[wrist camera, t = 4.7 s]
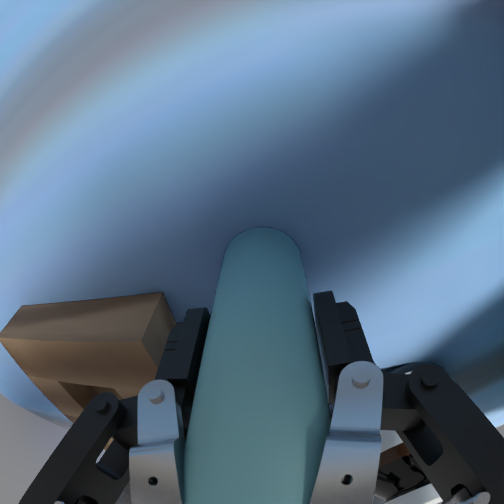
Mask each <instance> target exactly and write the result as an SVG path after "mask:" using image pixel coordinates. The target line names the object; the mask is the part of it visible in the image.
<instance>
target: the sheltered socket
mask: <svg viewBox="0 0 504 504" xmlns="http://www.w3.org/2000/svg"><path fill="white" fill-rule="evenodd" d="M176 324H177V323H176V321H175V319H174V317H173V315H172V312H171V310H170V308H169V306H168V304H167V301H166V299H165V297H164V294H163V292H159V293H150V294H141V295H132V296H123V297H113V298H103V299H93V300H83V301H72V302H61V303H49V304H37V305H24V306H21V307H20V309H19V310H18V311H17V312H16V314H15V315H14V316H13V317H12V319H11V320H10V321H9V322H8V324H7V325H6V326H5V327H4V329H3V330H2V331H1V333H0V342H1V343H2V345H3V346H4V347H5V349H6V350H7V351H8V353H9V354H10V355H11V357H12V358H13V359H14V360H15V362H16V363H17V364H18V365H19V367H20V368H21V369H22V370H23V371H24V373H25V374H26V375H27V376H28V377H29V378H30V380H31V381H32V382H33V383H34V384H35V385H36V386H37V387H38V388H39V390H40V391H41V392H42V393H43V394H44V395H45V396H46V397H47V398H48V399H49V400H50V401H51V402H52V403H53V404H54V405H55V406H56V407H57V408H58V409H59V410H60V411H61V412H62V413H63V414H64V415H65V416H66V417H67V418H68V419H69V420H70V421H71V422H73V423H75V421H76V420H77V418H78V417H79V416H80V414H81V413H82V412H83V410H84V409H85V408H86V406H87V405H88V404H89V402H90V401H91V400H92V399H93V398H94V397H95V396H96V395H98V394H100V393H103V392H110V393H113V394H114V395H115V396H116V397H117V398H118V399H119V400H121V399H125V398H129V397H134V396H137V395H138V394H139V392H140V390H141V389H142V387H143V386H145V385H146V384H147V383H149V382H151V381H154V379H155V376H156V373H157V370H158V367H159V364H160V360H161V357H162V354H163V351H164V348H165V345H166V343H167V339H168V336H169V333H170V331H171V330H172V329H173V328H174V326H175V325H176ZM112 441H113V439H112V438H110V440H109V441H108V443H107V444H106V446H105V447H104V449H105V450H107V448H108V447H109V445H110V444H111V442H112ZM115 504H132V502H131V489H130V481H129V482H128V484H127V485H126V487H125V489H124V490H123V492H122V494H121V495H120V497H119V498H118V500H117V502H116V503H115Z"/></svg>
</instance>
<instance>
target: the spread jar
mask: <svg viewBox="0 0 504 504" xmlns="http://www.w3.org/2000/svg"><path fill="white" fill-rule="evenodd" d="M423 364H428V363H412V364H407V365H404V366H401V367H398V368H395V369H393V370H391V371H389V373H395V374H411V372H412V371H413V370H414V369H415V368H417V367H418V366H420V365H423ZM449 376H450V375H449ZM450 377H451V376H450ZM451 378H452V377H451ZM452 379H453V378H452ZM453 380H454V379H453ZM454 381H455V380H454ZM331 421H332V418H331ZM380 435H381V452H380V459H379V467H378V473H377V480H376V486H375V491H374V495H376V496H377V497H380V498H382V499H384V500H385V502H384V503H385V504H437V503H439V502H441V501H443V500H442V499H441V497H440V496H439V494H438V493H437V491H436V490H435V488H434V487H433V485H432V484H431V482H430V481H429V479H428V478H427V476H426V475H425V474H424V472H423V471H422V469H421V468H420V466H419V465H418V463H417V462H416V460H415V459H414V457H413V456H412V454H411V453H410V451H409V450H408V449H407V447H406V446H405V444H404V443H403V441H402V440H401V438H400V437H399V435H398V434H397V433H396V431H392V430H380Z"/></svg>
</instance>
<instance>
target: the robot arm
mask: <svg viewBox="0 0 504 504" xmlns="http://www.w3.org/2000/svg"><path fill="white" fill-rule="evenodd" d="M313 299H314V311H315V323H316V332H317V338H318V343H319V349H320V354H321V360H322V366H323V372H324V378H325V384H326V390H327V396H328V403H329V404H332V403H335V405H334V411H333V416H332V421H331V426H330V430H329V433H328V435H327V439H326V443H325V447H324V451H323V456H322V460H321V464H320V468H319V472H318V476H317V479H316V483H315V487H314V490H313V494H312V497H311V501H310V504H372V502H373V496H374V491H375V486H376V480H377V473H378V467H379V459H380V452H381V435H380V430H392V431H396V433H397V434H398V435H399V437H400V438H401V440H402V441H403V443H404V444H405V446H406V447H407V449H408V450H409V451H410V453H411V454H412V456H413V457H414V459H415V460H416V462H417V463H418V465H419V466H420V468H421V469H422V471H423V472H424V474H425V475H426V476H427V478H428V479H429V481H430V482H431V484H432V485H433V487H434V488H435V490H436V491H437V493H438V494H439V496H440V497H441V499H442V500H443V502H442V504H504V438H503V437H502V435H501V434H500V433H499V432H498V431H497V430H496V428H495V427H494V426H493V425H492V423H491V422H490V421H489V420H488V419H487V417H486V416H485V415H484V414H483V413H482V412H481V410H480V409H479V408H478V407H477V406H476V405H475V403H474V402H473V401H472V400H471V399H470V398H469V397H468V396H467V394H466V393H465V392H464V391H463V390H462V389H461V388H460V387H459V385H458V384H457V383H456V382H455V381H454V380H453V379H452V378H451V377H450V376H449V374H448V373H447V372H446V371H445V370H444V369H443V368H441V367H440V366H437V365H434V364H423V365H420V366H418V367H417V368H415V369H414V370H413V371H412V372H411V374H395V373H389V372H386V371H384V370H382V369H380V368H379V367H378V366H377V365H376V364H375V363H374V361H373V359H372V356H371V353H370V350H369V347H368V344H367V341H366V338H365V335H364V332H363V329H362V327H361V324H360V321H359V318H358V315H357V313H356V310H355V308H353V307H352V306H351V305H350V304H349V303H348V302H347V301H346V302H340V303H336V302H335V299H334V295H333V292H332V291H326V292H320V293H313ZM210 317H211V316H210V314H209V311H208V309H207V308H206V307H205V308H196V309H188V310H187V313H186V316H185V319H184V322H179V323H177V324H176V325H175V326H174V328H173V329H172V330H171V331H170V333H169V336H168V339H167V343H166V345H165V348H164V351H163V354H162V357H161V360H160V364H159V367H158V370H157V373H156V376H155V379H154V381H151V382H149V383H147V384H146V385H145V386H143V387H142V389H141V390H140V392H139V394H138V395H137V396H134V397H129V398H125V399H121V400H119V399H118V398H117V397H116V396H115V395H114V394H113V393H110V392H103V393H100V394H98V395H96V396H95V397H94V398H93V399H92V400H91V401H90V402H89V404H88V405H87V406H86V408H85V409H84V410H83V412H82V413H81V414H80V416H79V417H78V418H77V420H76V421H75V423H74V424H73V425H72V427H71V428H70V429H69V431H68V432H67V434H66V435H65V436H64V438H63V439H62V441H61V442H60V443H59V445H58V446H57V448H56V449H55V450H54V452H53V453H52V455H51V456H50V457H49V459H48V460H47V462H46V463H45V465H44V466H43V468H42V469H41V470H40V472H39V473H38V475H37V476H36V478H35V479H34V481H33V482H32V484H31V485H30V487H29V488H28V490H27V491H26V493H25V494H24V496H23V497H22V499H21V500H20V502H19V504H115V503H116V502H117V500H118V498H119V497H120V495H121V494H122V492H123V490H124V489H125V487H126V485H127V484H128V482H129V481H130V489H131V502H132V504H185V502H184V483H183V464H184V450H185V444H186V438H187V433H188V427H189V422H190V416H191V411H192V406H193V400H194V395H195V390H196V385H197V380H198V375H199V370H200V365H201V360H202V355H203V350H204V345H205V340H206V336H207V331H208V326H209V321H210ZM110 438H112V439H113V441H112V442H111V444H110V445H109V447H108V448H107V450H106V451H105V453H104V455H103V456H102V458H101V459H100V461H99V462H98V463H96V460H97V458H98V456H99V455H100V453H101V452H102V450H103V449H104V447H105V446H106V444H107V443H108V441H109V440H110Z"/></svg>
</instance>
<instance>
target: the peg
mask: <svg viewBox="0 0 504 504" xmlns="http://www.w3.org/2000/svg"><path fill="white" fill-rule="evenodd" d="M330 426H331V416H330V409H329V403H328V396H327V390H326V384H325V378H324V372H323V366H322V360H321V354H320V349H319V343H318V338H317V332H316V327H315V322H314V317H313V312H312V306H311V301H310V297H309V292H308V287H307V282H306V277H305V272H304V268H303V263H302V259H301V254H300V251H299V248H298V246H297V244H296V243H295V242H294V240H293V239H292V238H291V237H290V236H288V235H287V234H285V233H284V232H282V231H280V230H277V229H274V228H268V227H256V228H251V229H248V230H245V231H243V232H241V233H240V234H238V235H237V236H235V237H234V238H233V239H232V240H231V241H230V243H229V244H228V246H227V248H226V250H225V254H224V258H223V262H222V267H221V271H220V275H219V280H218V284H217V289H216V294H215V298H214V303H213V307H212V312H211V317H210V321H209V326H208V331H207V336H206V340H205V345H204V350H203V355H202V360H201V365H200V370H199V375H198V380H197V385H196V390H195V395H194V400H193V406H192V411H191V416H190V422H189V427H188V433H187V438H186V444H185V450H184V464H183V483H184V502H185V504H310V501H311V497H312V494H313V490H314V487H315V483H316V479H317V476H318V472H319V468H320V464H321V460H322V456H323V451H324V447H325V443H326V439H327V435H328V433H329V430H330Z"/></svg>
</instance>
